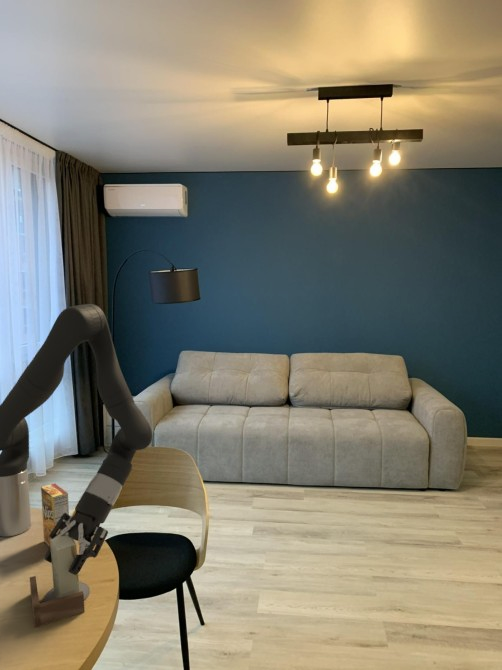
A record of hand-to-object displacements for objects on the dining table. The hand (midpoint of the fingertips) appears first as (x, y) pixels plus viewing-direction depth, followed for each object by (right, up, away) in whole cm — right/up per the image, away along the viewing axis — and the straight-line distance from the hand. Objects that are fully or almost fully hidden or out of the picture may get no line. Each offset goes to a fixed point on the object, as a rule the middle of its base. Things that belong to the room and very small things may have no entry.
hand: (59, 567), depth 106 cm
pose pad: (+1, -7, +2) cm, 7 cm away
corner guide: (0, -7, -1) cm, 7 cm away
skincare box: (+1, -7, +2) cm, 7 cm away
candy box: (-10, -5, +24) cm, 26 cm away
